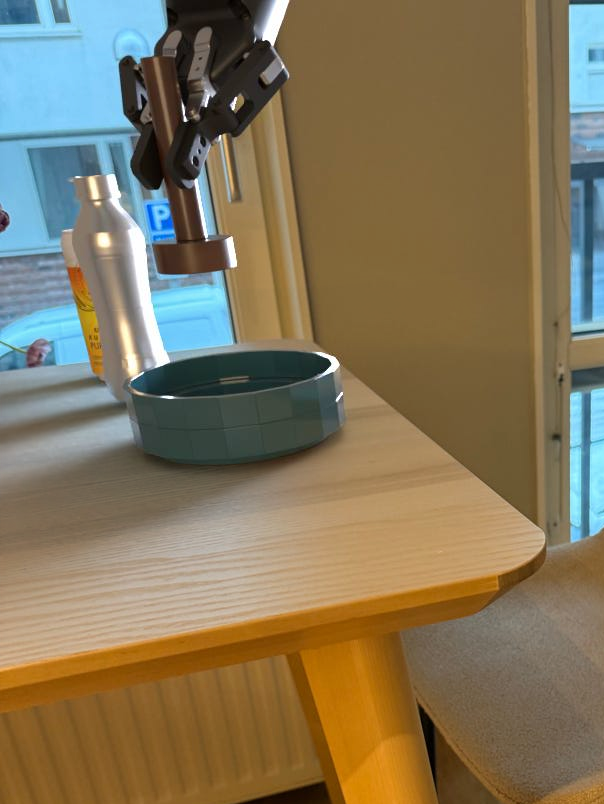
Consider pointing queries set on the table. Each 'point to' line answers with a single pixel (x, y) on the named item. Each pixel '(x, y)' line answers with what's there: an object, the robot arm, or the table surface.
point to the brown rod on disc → (191, 240)
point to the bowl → (235, 405)
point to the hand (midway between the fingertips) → (160, 179)
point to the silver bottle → (116, 281)
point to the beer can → (83, 305)
